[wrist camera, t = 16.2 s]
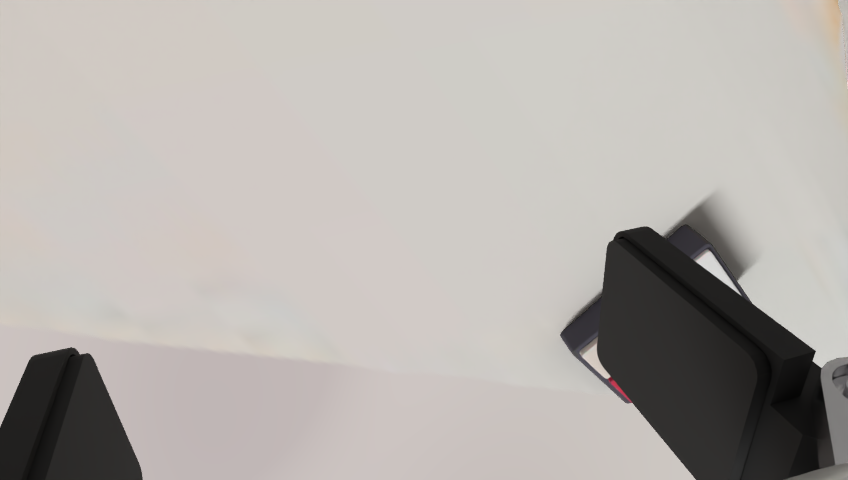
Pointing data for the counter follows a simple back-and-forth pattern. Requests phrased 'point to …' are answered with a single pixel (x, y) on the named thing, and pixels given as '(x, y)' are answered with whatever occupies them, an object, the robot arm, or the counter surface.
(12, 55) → the counter surface
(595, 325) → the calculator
